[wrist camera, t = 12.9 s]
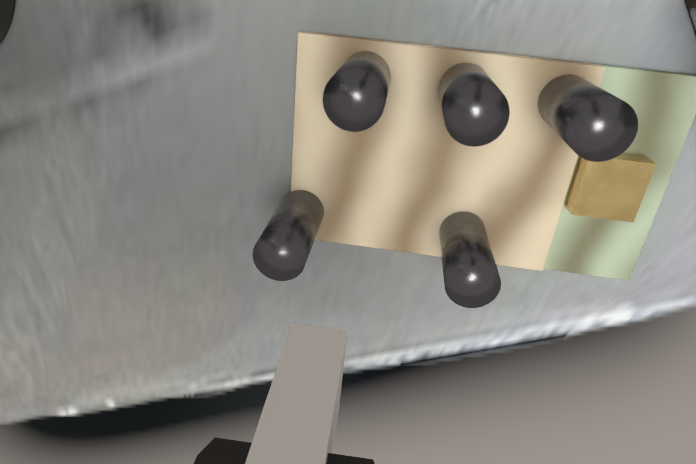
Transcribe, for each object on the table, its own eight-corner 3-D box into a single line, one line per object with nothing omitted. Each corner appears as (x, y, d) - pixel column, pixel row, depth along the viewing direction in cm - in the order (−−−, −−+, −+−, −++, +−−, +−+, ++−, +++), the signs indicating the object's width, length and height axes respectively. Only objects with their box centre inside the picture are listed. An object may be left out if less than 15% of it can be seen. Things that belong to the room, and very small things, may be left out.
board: (292, 228, 44) (288, 236, 43) (301, 30, 37) (298, 32, 35) (624, 274, 42) (630, 283, 41) (702, 75, 35) (713, 79, 34)
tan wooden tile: (563, 203, 39) (570, 214, 37) (581, 147, 37) (589, 155, 35) (623, 211, 39) (633, 222, 37) (644, 155, 37) (656, 163, 35)
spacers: (279, 227, 42) (252, 276, 35) (286, 41, 36) (254, 56, 29) (542, 263, 41) (569, 322, 34) (599, 77, 34) (647, 102, 27)
